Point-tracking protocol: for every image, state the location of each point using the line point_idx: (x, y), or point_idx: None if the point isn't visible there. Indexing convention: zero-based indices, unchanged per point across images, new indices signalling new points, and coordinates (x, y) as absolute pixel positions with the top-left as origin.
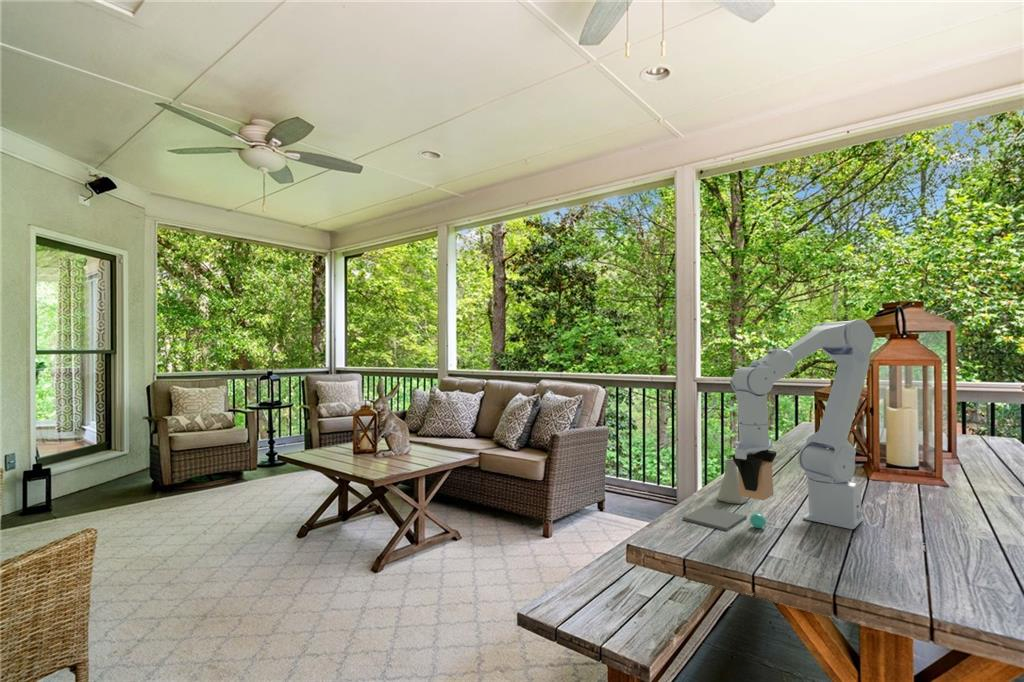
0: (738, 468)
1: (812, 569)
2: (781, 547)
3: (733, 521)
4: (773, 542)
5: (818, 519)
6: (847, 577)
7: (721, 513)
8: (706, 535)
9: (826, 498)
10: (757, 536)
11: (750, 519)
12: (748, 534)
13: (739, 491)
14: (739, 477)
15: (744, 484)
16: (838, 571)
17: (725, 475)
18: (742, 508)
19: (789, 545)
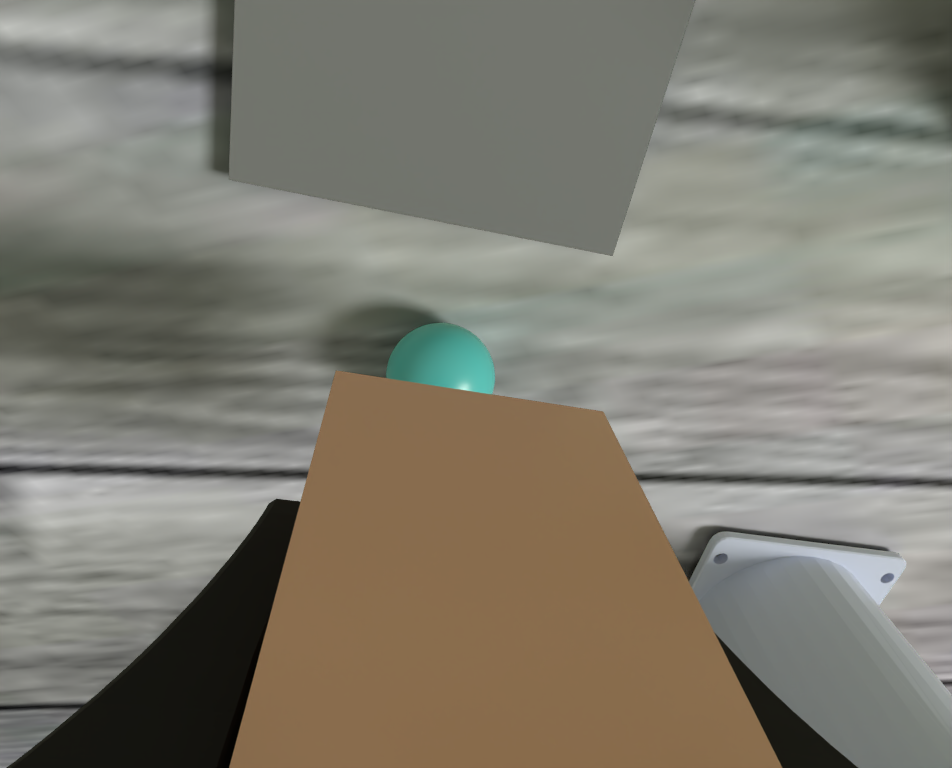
0: (53, 735)
1: (7, 639)
2: (184, 508)
3: (423, 193)
4: (232, 466)
5: (702, 599)
6: (40, 724)
7: (591, 42)
8: (8, 40)
9: None
10: (272, 378)
11: (411, 339)
12: (271, 325)
13: (331, 397)
14: (294, 529)
15: (246, 541)
16: (76, 701)
17: None
18: (861, 167)
19: (245, 532)
